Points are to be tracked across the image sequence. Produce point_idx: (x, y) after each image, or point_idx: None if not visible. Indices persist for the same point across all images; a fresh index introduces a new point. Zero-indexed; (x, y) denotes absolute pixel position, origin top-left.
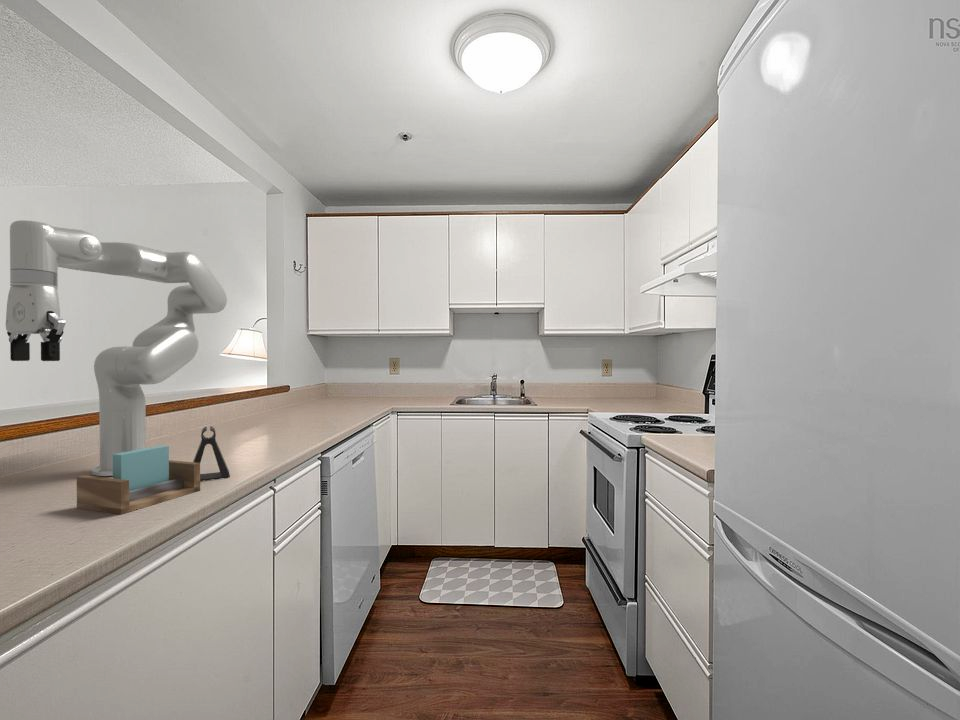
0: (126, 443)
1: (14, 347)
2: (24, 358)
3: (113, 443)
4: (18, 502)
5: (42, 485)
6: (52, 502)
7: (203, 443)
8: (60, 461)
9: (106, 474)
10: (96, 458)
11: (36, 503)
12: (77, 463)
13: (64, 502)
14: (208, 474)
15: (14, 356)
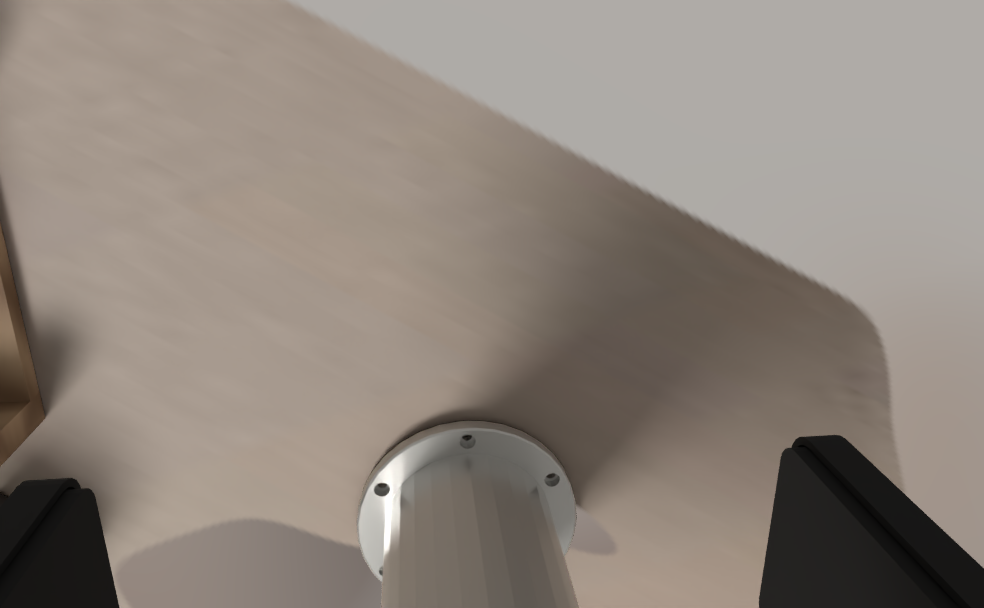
0: (389, 577)
1: (908, 599)
2: (776, 579)
3: (426, 545)
4: (313, 50)
5: (532, 254)
6: (174, 100)
7: None
8: None
9: (421, 433)
10: None
11: (221, 66)
12: None
13: (125, 117)
14: None
15: (811, 488)
